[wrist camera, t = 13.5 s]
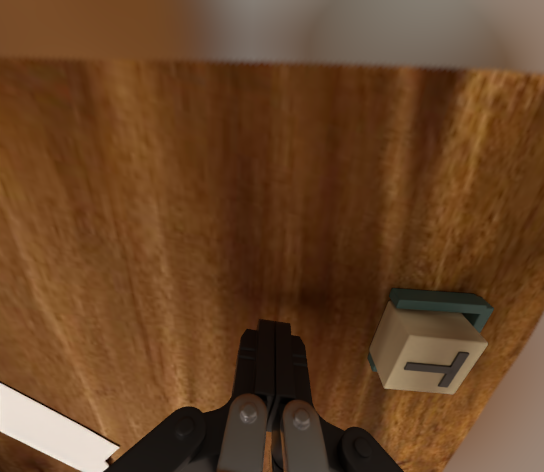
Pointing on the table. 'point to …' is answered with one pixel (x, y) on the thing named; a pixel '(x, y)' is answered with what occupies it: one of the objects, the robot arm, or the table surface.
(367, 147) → the table surface
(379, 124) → the table surface
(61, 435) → the knife
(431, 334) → the letter tile
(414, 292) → the frame
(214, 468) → the robot arm
